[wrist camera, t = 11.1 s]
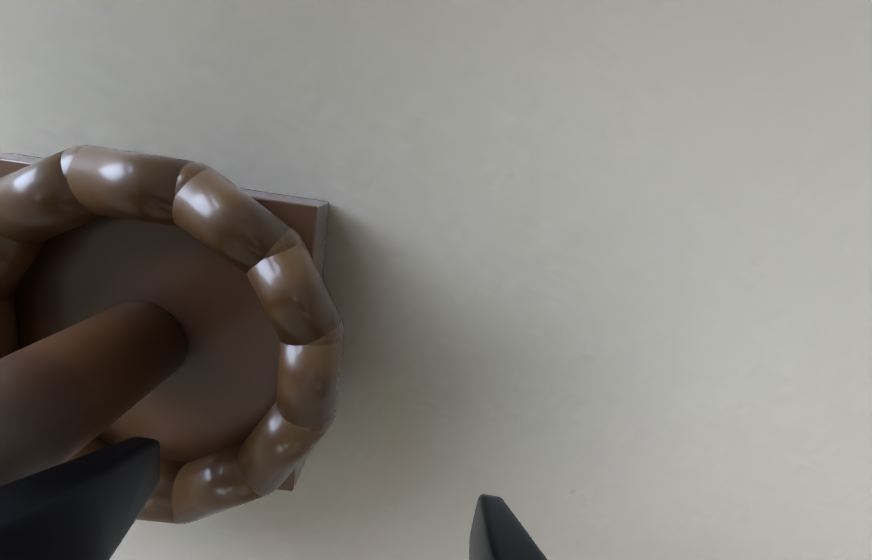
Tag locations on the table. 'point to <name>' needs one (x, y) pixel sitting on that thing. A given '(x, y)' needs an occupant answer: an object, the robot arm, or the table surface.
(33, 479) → the robot arm
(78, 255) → the post
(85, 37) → the table surface
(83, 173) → the ring
